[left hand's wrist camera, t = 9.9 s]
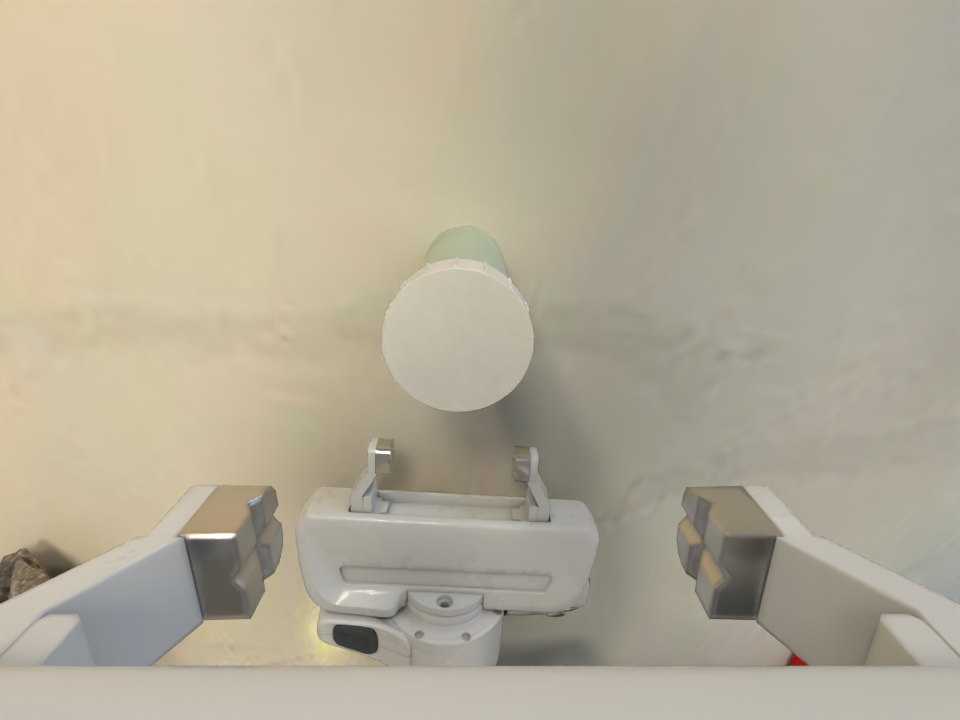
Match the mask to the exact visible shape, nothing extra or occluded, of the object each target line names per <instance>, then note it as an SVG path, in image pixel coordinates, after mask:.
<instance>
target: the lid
mask: <svg viewBox="0 0 960 720" xmlns="http://www.w3.org/2000/svg"><path fill="white" fill-rule="evenodd" d="M399 289H400V290H399V291H398V293H397V294H396V296H395V298H394V300H393V302H392V303H390V305H389V306H388V308H387V310H386V312H385V315H386V316H385V319H384V323H383V328H382V339H381V342H382V351H383V355H384V359H385V362H386V365H387V367H388V369H389V371H390V373H391V375H392V377H393V378H394V379H395V381H396V382H397V383H398V385H399V386H400V387H401V388H402V389H403V390H404V391H405V392H406V393H408V394H409V395H410V396H411V397H413V398H414V399H416V400H417V401H419V402H421V403H423V404H425V405H427V406H429V407H432V408H435V409H439V410H444V411H451V412H467V411H474V410H478V409H482V408H485V407H487V406H490V405H492V404H494V403H496V402H498V401H500V400H501V399H503V398H504V397H505V396H507V395H508V394H509V393H510V392H511V391H512V390H513V389H515V387H516V386H517V385H518V384H519V383H520V381H521V380H522V378H523V377H524V375H525V374H526V371H527V369H528V367H529V365H530V362H531V358H532V354H533V348H534V340H535V337H534V334H533V327H532V323H531V319H530V316H529V313H528V312H530V310H529V308H528V305H527V302H526V300H525V301H524V300H523V298H522V296H521V294H520V293H519V291H518V289H517V288H516V287H515V285H514V284H513V283H512V280H511V278H510V277H509V278H507V277H506V276H505V275H504V274H502V273H501V272H500V271H498V270H497V269H495V268H493V267H491V266H489V265H487V262H484V263H482V262H478V261H474V260H469V259H458V257H455V259H448V260H442V261H438V262H435V263H432V264H430V263H427V265H426V266H425V267H424V268H422V269H420V270H419V271H417V272H416V273H414V274H413V275H412V276H411V277H410V278H409V279H408V280H406V279H405V280H404V281H403V283H402V285H401V287H400V288H399Z"/></svg>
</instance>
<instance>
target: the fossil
mask: <svg viewBox="0 0 960 720" xmlns="http://www.w3.org/2000/svg"><path fill="white" fill-rule="evenodd" d="M48 580H50V577H49V575H48V574H47V573H46V572H45V570H44V567H43V566H42V565H41V564H40V563H39V562H38V561H37V559H36V558H35V557H34V556H33V555H32V554H31V553H30V552H29V551H28V550H27V549H26V548H25V549H19V550H18V551H17V552H16V553H13V554H9V555H6V556H4V557H3V559H2V560H1V563H0V604H1V603H3V602H5V601H7V600H9V599H11V598H13V597H15V596H17V595H19V594H21V593H23V592H25V591H28V590H30V589H32V588H34V587H36V586H38V585H40V584H42V583H44V582H46V581H48Z"/></svg>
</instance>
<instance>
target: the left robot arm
mask: <svg viewBox="0 0 960 720" xmlns="http://www.w3.org/2000/svg"><path fill="white" fill-rule="evenodd" d="M277 507H278V500H277V495H276V491H275V490H274V489H273V488H272V487H271V486H233V485H222V486H220V485H197V486H193V487H191V488H190V489H189V490H188V491H187V492H186V493H185V494H184V495H183V496H182V497H181V498H180V500H179V501H178V502H177V503H176V504H175V505H174V506H173V507H172V508H171V509H170V511H169V512H168V513H167V514H166V515H165V516H164V517H163V518H162V519H161V520H160V522H159V523H158V524H157V525H156V526H155V527H154V528H153V529H152V530H151V532H150V533H149V534H148V535H147V536H146V537H136V538H134V539H132V540H130V541H128V542H126V543H124V544H122V545H120V546H118V547H116V548H114V549H111V550H109V551H107V552H105V553H103V554H101V555H99V556H97V557H95V558H93V559H91V560H89V561H87V562H85V563H83V564H81V565H79V566H77V567H75V568H73V569H71V570H68V571H66V572H64V573H62V574H60V575H58V576H56V577H54V578H52V579H50V580H48V581H46V582H44V583H42V584H40V585H38V586H36V587H34V588H32V589H30V590H28V591H25V592H23V593H21V594H19V595H17V596H15V597H13V598H11V599H9V600H7V601H5V602H3V603H1V604H0V720H960V604H959V603H957V602H955V601H953V600H951V599H948V598H946V597H944V596H942V595H940V594H938V593H936V592H934V591H932V590H930V589H928V588H926V587H924V586H922V585H920V584H918V583H916V582H914V581H912V580H910V579H908V578H906V577H904V576H902V575H899V574H897V573H895V572H893V571H891V570H889V569H887V568H885V567H883V566H881V565H879V564H877V563H875V562H873V561H871V560H869V559H867V558H865V557H863V556H861V555H859V554H857V553H855V552H853V551H850V550H848V549H846V548H844V547H842V546H840V545H838V544H836V543H834V542H832V541H830V540H828V539H826V538H824V537H814V536H813V535H812V534H811V533H810V532H809V530H808V529H807V528H806V527H805V526H804V525H803V524H802V523H801V522H800V521H799V519H798V518H797V517H796V516H795V515H794V514H793V513H792V512H791V511H790V509H789V508H788V507H787V506H786V505H785V504H784V503H783V502H782V501H781V500H780V498H779V497H778V496H777V495H776V494H775V493H774V492H773V491H772V490H771V489H770V488H769V487H767V486H765V485H743V486H716V487H687V488H686V490H685V492H684V494H683V500H682V507H683V508H684V510H685V512H686V514H687V516H686V517H685V518H684V519H683V520H682V521H681V522H680V523H679V525H678V533H677V545H678V554H679V557H680V561H681V564H682V566H683V568H684V570H685V572H686V573H687V574H688V575H690V576H691V577H692V578H694V579H695V580H697V581H696V587H695V592H696V594H697V596H698V598H699V600H700V602H701V603H702V605H703V607H704V609H705V611H706V613H707V615H708V617H709V619H735V620H757V623H758V624H759V625H760V626H762V627H763V628H764V629H765V630H766V631H768V632H769V633H770V634H771V635H772V636H774V637H775V638H776V639H777V640H778V641H780V642H781V643H782V644H783V645H785V646H786V647H787V648H788V649H789V650H791V651H792V652H793V653H794V654H795V655H797V656H798V657H799V658H800V659H801V660H803V661H804V662H805V663H806V664H807V665H809V666H152V665H153V664H154V663H155V662H156V661H158V660H159V659H160V658H161V657H162V656H164V655H165V654H166V653H167V652H168V651H170V650H171V649H172V648H173V647H174V646H176V645H177V644H178V643H179V642H181V641H182V640H183V639H184V638H185V637H187V636H188V635H189V634H190V633H191V632H193V631H194V630H195V629H196V628H197V627H199V626H200V625H201V624H202V623H203V620H224V619H251V617H252V615H253V613H254V611H255V609H256V607H257V605H258V604H259V602H260V600H261V598H262V596H263V594H264V592H265V587H264V581H263V580H265V579H266V578H268V577H269V576H270V575H272V574H273V573H274V572H275V570H276V568H277V566H278V564H279V561H280V557H281V552H282V548H283V532H282V525H281V523H280V522H279V521H278V520H277V519H276V518H275V517H274V516H273V513H274V512H275V510H276V508H277Z"/></svg>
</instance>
